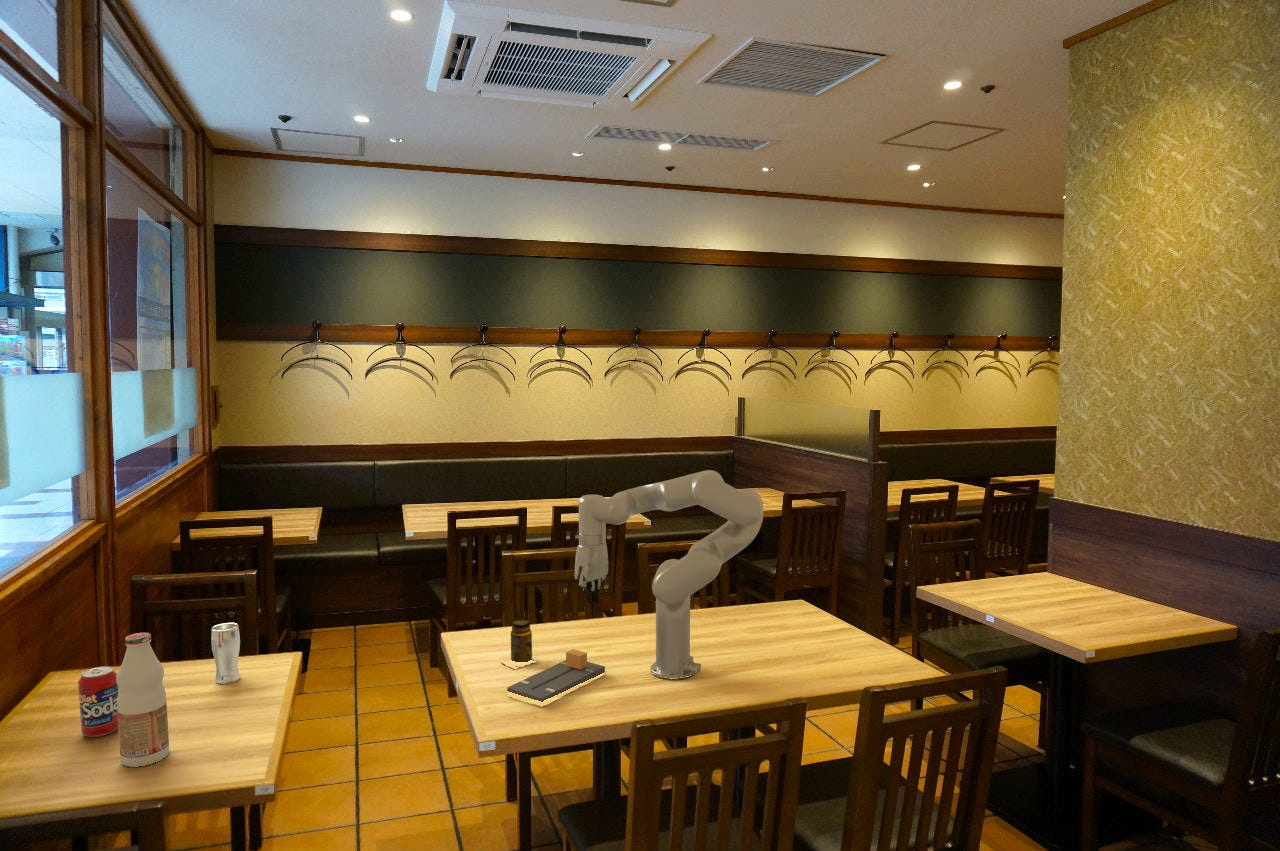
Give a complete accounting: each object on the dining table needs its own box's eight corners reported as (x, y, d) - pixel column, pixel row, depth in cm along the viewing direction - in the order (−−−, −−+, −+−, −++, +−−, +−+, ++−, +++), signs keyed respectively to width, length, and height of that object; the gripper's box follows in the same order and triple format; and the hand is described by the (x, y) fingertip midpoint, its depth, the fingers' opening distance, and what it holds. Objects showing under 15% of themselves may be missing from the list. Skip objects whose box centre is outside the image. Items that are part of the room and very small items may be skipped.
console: (571, 665, 241) (571, 656, 240) (604, 675, 234) (604, 665, 234) (507, 696, 220) (507, 686, 219) (541, 708, 213) (541, 697, 212)
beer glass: (230, 685, 227) (227, 631, 226) (207, 683, 229) (204, 630, 227) (247, 675, 234) (244, 623, 233) (225, 674, 236) (222, 621, 234)
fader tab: (573, 662, 236) (573, 649, 235) (587, 666, 233) (586, 652, 232) (566, 665, 233) (566, 652, 233) (580, 669, 230) (580, 656, 230)
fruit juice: (128, 773, 181) (120, 646, 178) (115, 758, 188) (107, 636, 185) (175, 757, 188) (168, 635, 185) (161, 743, 194) (154, 625, 192)
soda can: (113, 721, 206) (109, 662, 205) (126, 730, 201) (122, 670, 200) (76, 733, 200) (72, 671, 199) (88, 742, 195) (84, 680, 194)
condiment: (538, 662, 243) (537, 622, 242) (514, 670, 238) (513, 629, 236) (523, 655, 249) (522, 616, 248) (499, 663, 243) (498, 622, 242)
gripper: (598, 532, 244) (598, 594, 246) (564, 542, 232) (565, 607, 234) (619, 536, 240) (619, 599, 241) (585, 546, 227) (586, 612, 229)
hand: (592, 603), depth 237 cm, fingers closed
